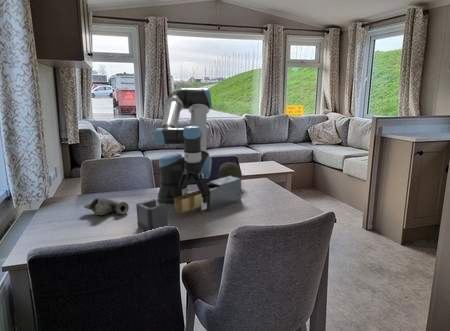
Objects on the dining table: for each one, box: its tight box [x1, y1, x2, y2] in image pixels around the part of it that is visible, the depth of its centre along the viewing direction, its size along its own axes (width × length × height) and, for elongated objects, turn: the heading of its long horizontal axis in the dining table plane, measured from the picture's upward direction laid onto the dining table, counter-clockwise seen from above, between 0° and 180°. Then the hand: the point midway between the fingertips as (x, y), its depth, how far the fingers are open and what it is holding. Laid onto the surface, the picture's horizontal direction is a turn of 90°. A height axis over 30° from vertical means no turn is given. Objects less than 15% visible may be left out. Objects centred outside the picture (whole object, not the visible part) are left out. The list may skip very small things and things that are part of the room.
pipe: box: [83, 197, 130, 216], centre depth 151 cm, size 16×9×15 cm
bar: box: [173, 186, 216, 214], centre depth 154 cm, size 6×32×6 cm, turn 134°
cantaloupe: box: [217, 161, 243, 180], centre depth 186 cm, size 14×14×15 cm
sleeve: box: [199, 176, 242, 212], centre depth 162 cm, size 8×21×12 cm, turn 134°
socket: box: [135, 198, 169, 232], centre depth 135 cm, size 10×8×10 cm
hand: (194, 205), depth 151 cm, fingers open, 13 cm apart
